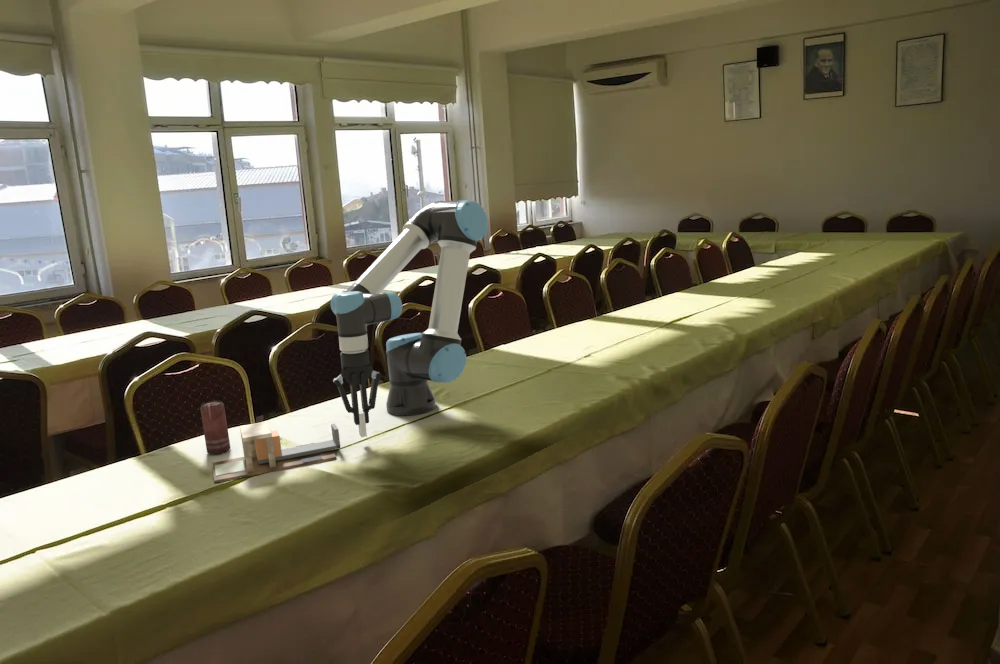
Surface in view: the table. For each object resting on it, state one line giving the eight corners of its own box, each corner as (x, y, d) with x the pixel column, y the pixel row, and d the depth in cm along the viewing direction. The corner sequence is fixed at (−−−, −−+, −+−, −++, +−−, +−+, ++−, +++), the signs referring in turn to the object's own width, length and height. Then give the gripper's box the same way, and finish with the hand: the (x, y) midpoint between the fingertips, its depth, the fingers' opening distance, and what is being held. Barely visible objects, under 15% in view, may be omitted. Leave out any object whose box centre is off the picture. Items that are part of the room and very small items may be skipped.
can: (206, 457, 211) (198, 407, 208) (208, 449, 217) (200, 401, 214) (229, 453, 212) (222, 404, 210) (231, 446, 218) (224, 398, 216)
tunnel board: (327, 443, 215) (323, 409, 213) (336, 459, 203) (332, 423, 201) (212, 464, 205) (207, 430, 203) (214, 483, 192) (208, 446, 190)
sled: (337, 442, 212) (334, 419, 211) (340, 448, 207) (337, 425, 206) (256, 457, 204) (253, 434, 203) (258, 464, 200) (255, 440, 198)
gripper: (375, 344, 213) (383, 427, 217) (327, 351, 208) (336, 435, 213) (381, 349, 206) (389, 434, 210) (332, 356, 201) (341, 443, 206)
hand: (363, 435), depth 211 cm, fingers closed
